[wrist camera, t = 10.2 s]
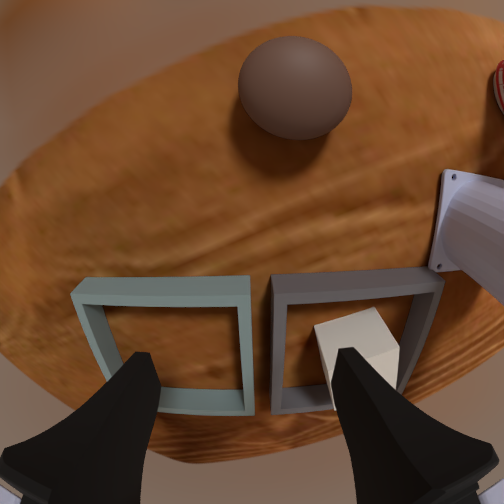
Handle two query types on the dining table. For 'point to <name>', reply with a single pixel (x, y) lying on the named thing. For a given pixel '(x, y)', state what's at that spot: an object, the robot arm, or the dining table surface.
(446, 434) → the robot arm
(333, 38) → the dining table surface
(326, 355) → the letter cube
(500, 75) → the beverage can
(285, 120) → the egg
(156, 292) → the teal square frame
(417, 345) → the tray charcoal
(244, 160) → the dining table surface
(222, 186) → the dining table surface
